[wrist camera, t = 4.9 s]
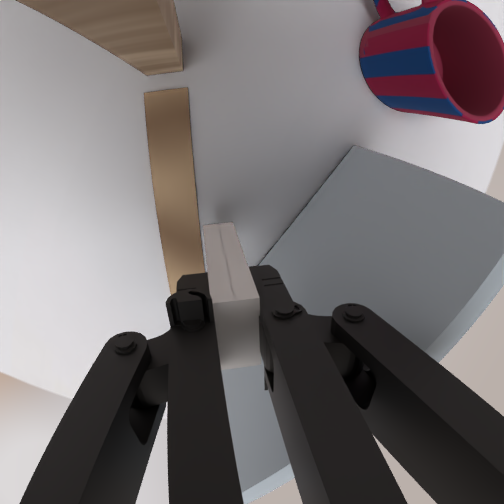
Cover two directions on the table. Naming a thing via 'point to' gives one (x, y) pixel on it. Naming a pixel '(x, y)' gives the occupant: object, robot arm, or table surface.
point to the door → (373, 278)
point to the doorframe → (150, 109)
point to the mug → (436, 60)
